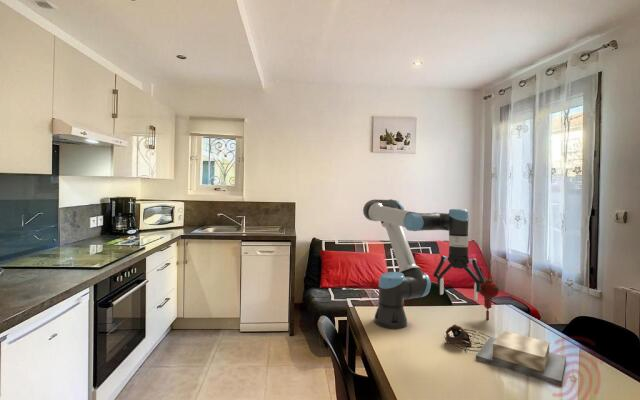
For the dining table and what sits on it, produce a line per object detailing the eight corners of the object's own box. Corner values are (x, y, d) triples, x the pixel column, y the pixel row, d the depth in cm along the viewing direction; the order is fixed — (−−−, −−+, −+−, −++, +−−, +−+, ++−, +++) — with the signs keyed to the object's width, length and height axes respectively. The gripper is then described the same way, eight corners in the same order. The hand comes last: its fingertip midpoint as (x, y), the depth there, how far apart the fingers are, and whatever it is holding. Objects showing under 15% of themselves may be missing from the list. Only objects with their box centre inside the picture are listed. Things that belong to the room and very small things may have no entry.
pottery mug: (476, 350, 134) (469, 334, 132) (454, 358, 136) (446, 342, 134) (466, 331, 145) (459, 316, 144) (445, 338, 147) (438, 323, 145)
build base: (475, 359, 126) (476, 342, 125) (490, 340, 143) (490, 325, 142) (561, 385, 109) (561, 365, 109) (565, 360, 126) (566, 343, 126)
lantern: (490, 324, 161) (492, 261, 160) (472, 317, 169) (474, 258, 168) (502, 321, 165) (504, 260, 165) (484, 314, 174) (486, 257, 173)
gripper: (425, 244, 145) (425, 293, 145) (489, 249, 130) (489, 304, 130) (431, 242, 151) (431, 290, 151) (493, 247, 136) (493, 299, 136)
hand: (458, 296), depth 140 cm, fingers open, 13 cm apart
